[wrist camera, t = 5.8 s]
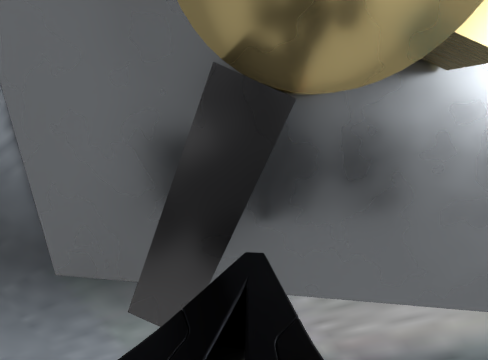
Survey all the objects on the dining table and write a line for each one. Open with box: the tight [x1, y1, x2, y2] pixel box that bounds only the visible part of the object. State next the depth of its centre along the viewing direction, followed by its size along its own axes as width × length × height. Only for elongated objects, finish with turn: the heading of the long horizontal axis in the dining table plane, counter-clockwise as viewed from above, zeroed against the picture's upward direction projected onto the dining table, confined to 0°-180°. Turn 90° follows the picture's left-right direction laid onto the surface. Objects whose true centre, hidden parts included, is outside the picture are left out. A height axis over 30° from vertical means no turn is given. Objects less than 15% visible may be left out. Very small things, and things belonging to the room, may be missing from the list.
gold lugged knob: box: [128, 0, 488, 327], centre depth 7 cm, size 16×10×3 cm, turn 157°
